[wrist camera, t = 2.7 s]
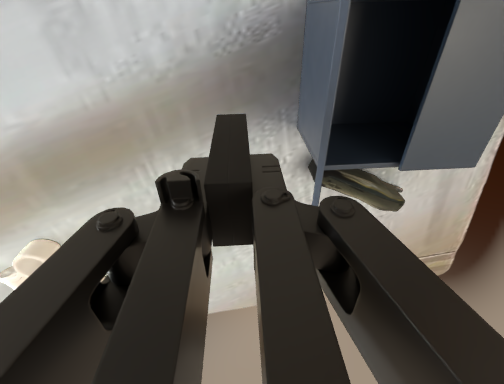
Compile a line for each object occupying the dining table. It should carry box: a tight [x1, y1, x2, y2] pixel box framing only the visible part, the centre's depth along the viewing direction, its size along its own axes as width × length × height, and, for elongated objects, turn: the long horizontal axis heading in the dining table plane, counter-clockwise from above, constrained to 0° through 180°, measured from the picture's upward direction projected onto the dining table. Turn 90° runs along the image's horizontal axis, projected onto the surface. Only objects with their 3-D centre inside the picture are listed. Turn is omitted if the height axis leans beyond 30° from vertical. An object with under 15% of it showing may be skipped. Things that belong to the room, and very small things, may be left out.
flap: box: [312, 0, 350, 206], centre depth 17 cm, size 7×13×1 cm
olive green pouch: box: [308, 159, 405, 211], centre depth 35 cm, size 5×3×15 cm
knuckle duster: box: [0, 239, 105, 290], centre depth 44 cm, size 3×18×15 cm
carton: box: [297, 0, 504, 171], centre depth 24 cm, size 14×13×11 cm
